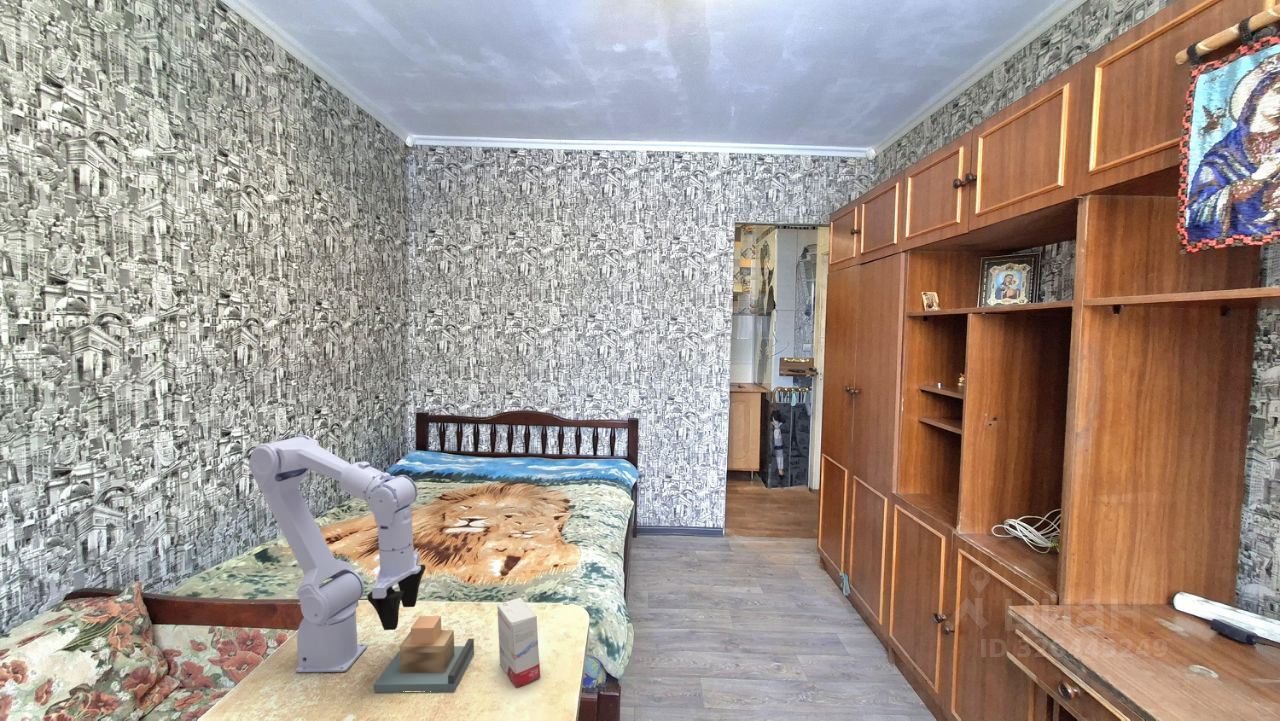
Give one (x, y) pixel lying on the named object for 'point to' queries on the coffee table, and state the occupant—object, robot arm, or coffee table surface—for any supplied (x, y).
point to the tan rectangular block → (427, 654)
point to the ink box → (518, 641)
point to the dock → (426, 675)
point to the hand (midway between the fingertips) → (400, 617)
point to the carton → (426, 630)
